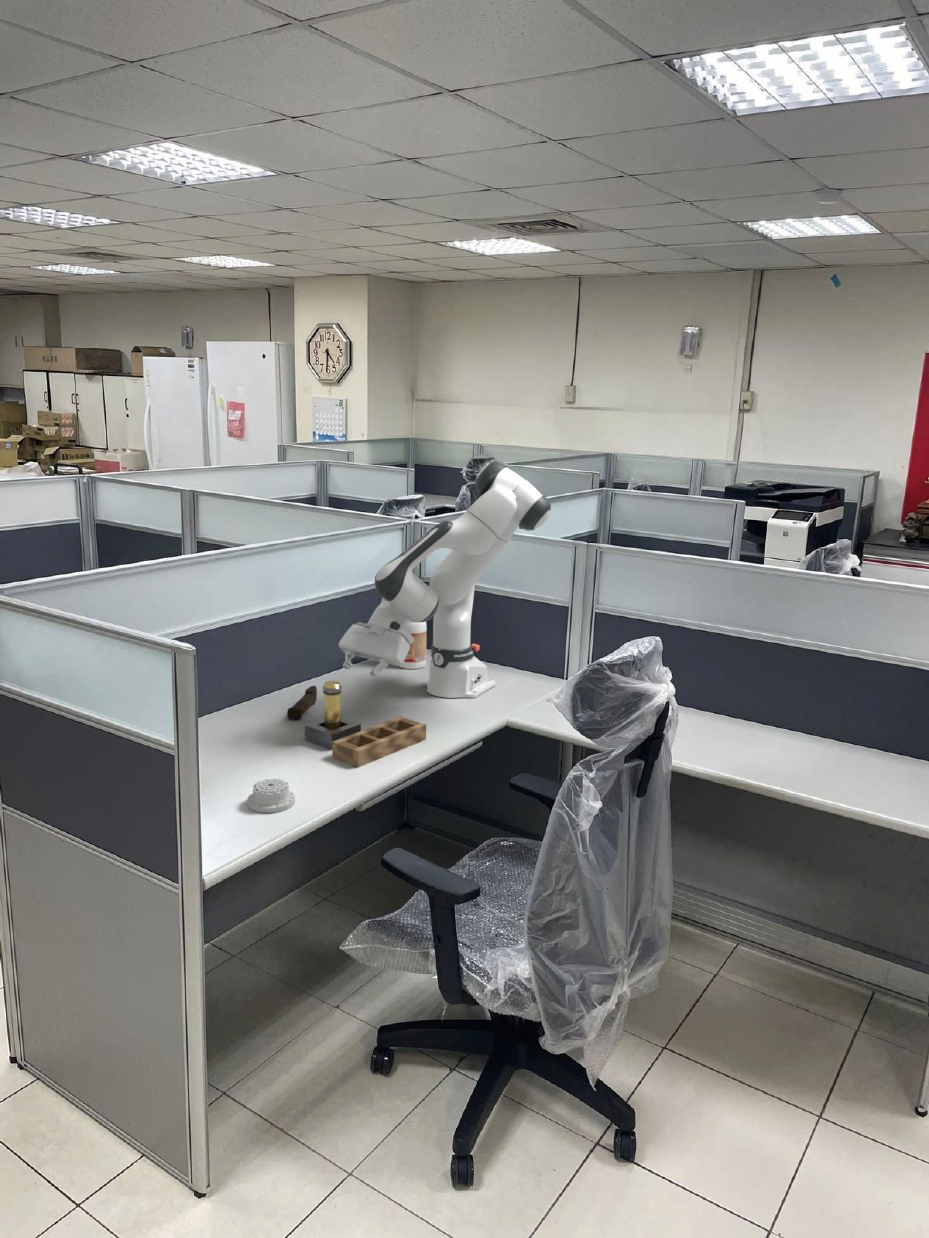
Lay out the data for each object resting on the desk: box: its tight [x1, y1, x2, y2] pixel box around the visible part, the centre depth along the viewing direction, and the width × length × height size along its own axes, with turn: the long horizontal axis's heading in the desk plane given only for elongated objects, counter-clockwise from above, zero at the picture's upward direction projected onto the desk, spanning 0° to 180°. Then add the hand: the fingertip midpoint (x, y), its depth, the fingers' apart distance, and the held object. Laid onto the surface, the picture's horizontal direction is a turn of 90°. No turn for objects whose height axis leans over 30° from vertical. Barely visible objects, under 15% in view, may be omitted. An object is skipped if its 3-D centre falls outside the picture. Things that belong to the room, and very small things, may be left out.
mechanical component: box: [247, 777, 296, 814], centre depth 190 cm, size 10×4×10 cm
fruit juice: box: [398, 620, 428, 670], centre depth 287 cm, size 9×9×28 cm
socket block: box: [304, 716, 362, 750], centre depth 226 cm, size 10×10×4 cm
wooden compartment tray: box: [331, 716, 427, 768], centre depth 221 cm, size 24×9×4 cm, turn 141°
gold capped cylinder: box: [322, 680, 343, 730], centre depth 225 cm, size 5×5×15 cm
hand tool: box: [286, 685, 318, 721], centre depth 248 cm, size 19×4×5 cm, turn 169°
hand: (359, 671), depth 230 cm, fingers open, 8 cm apart
